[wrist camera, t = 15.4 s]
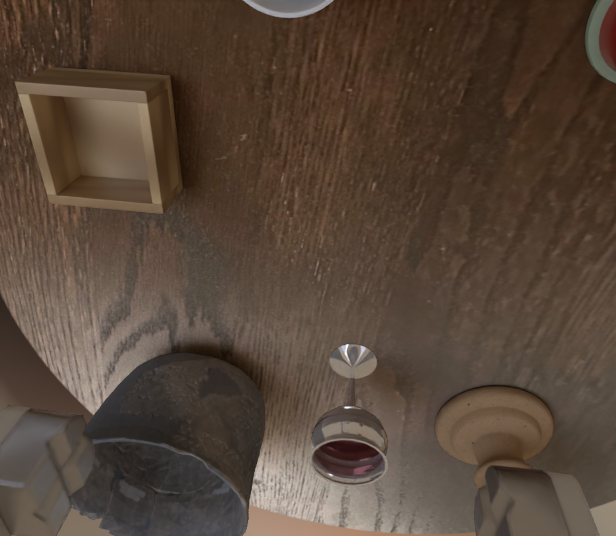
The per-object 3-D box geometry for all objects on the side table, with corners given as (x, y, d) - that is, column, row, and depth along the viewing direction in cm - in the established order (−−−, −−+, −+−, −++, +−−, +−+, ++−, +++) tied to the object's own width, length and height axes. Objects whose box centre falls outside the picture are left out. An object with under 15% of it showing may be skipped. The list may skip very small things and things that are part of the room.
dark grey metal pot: (126, 411, 60) (62, 533, 48) (117, 301, 50) (32, 420, 38) (267, 439, 60) (239, 568, 48) (286, 335, 50) (257, 464, 38)
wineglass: (391, 342, 49) (395, 444, 39) (379, 388, 53) (381, 491, 43) (324, 333, 49) (312, 432, 39) (317, 379, 53) (305, 479, 43)
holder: (52, 66, 37) (14, 81, 33) (170, 74, 37) (145, 91, 33) (79, 179, 42) (49, 203, 38) (183, 188, 42) (163, 214, 38)
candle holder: (572, 398, 50) (670, 623, 34) (522, 466, 57) (582, 680, 41) (456, 373, 50) (497, 587, 34) (420, 444, 57) (439, 650, 41)
